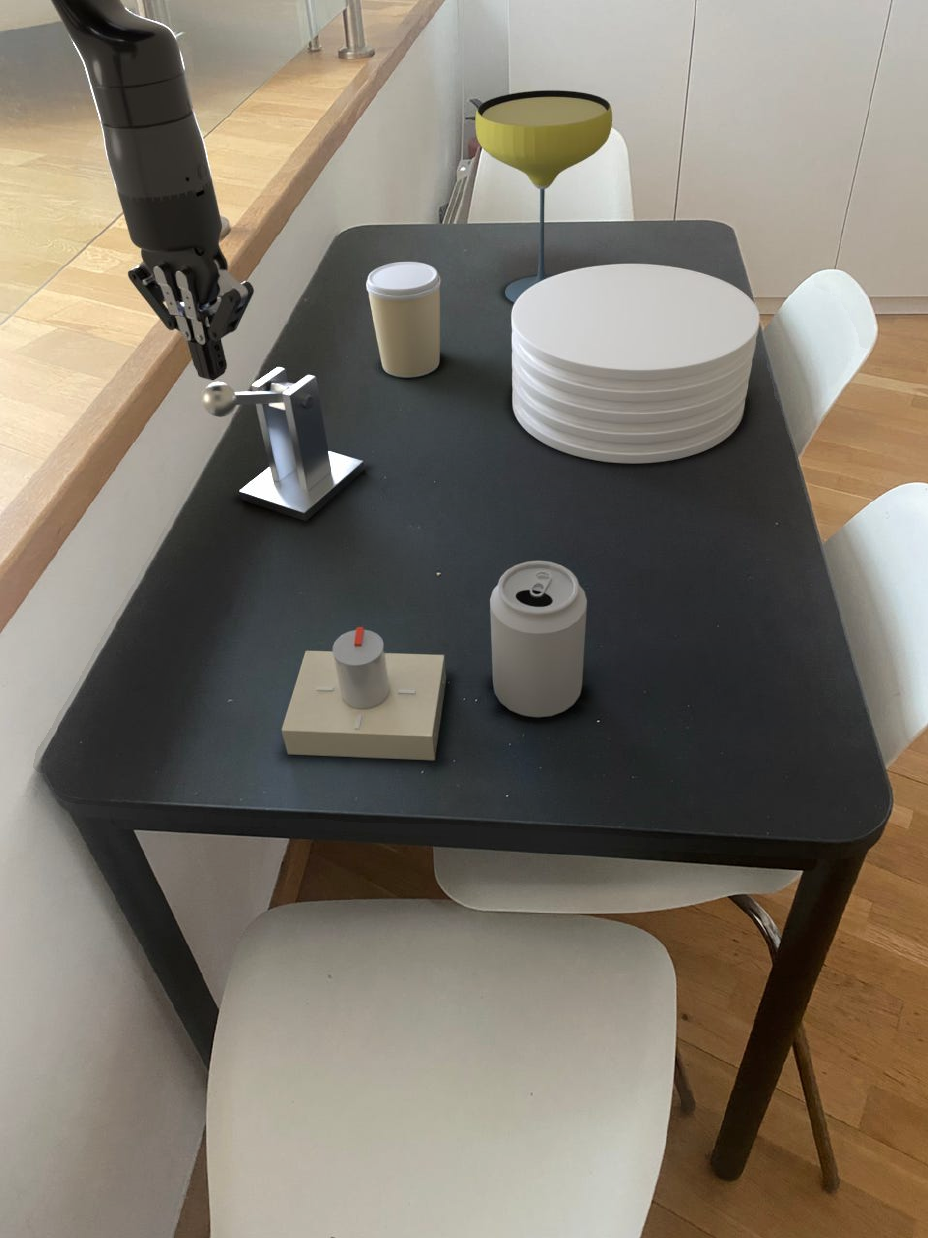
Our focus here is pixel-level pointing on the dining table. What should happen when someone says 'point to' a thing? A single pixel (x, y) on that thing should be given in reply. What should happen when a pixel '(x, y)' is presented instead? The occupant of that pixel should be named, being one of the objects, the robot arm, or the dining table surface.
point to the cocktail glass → (542, 142)
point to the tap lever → (240, 397)
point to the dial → (361, 668)
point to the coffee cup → (406, 317)
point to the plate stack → (632, 361)
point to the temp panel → (367, 711)
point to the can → (538, 638)
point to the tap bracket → (297, 453)
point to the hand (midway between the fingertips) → (213, 375)
